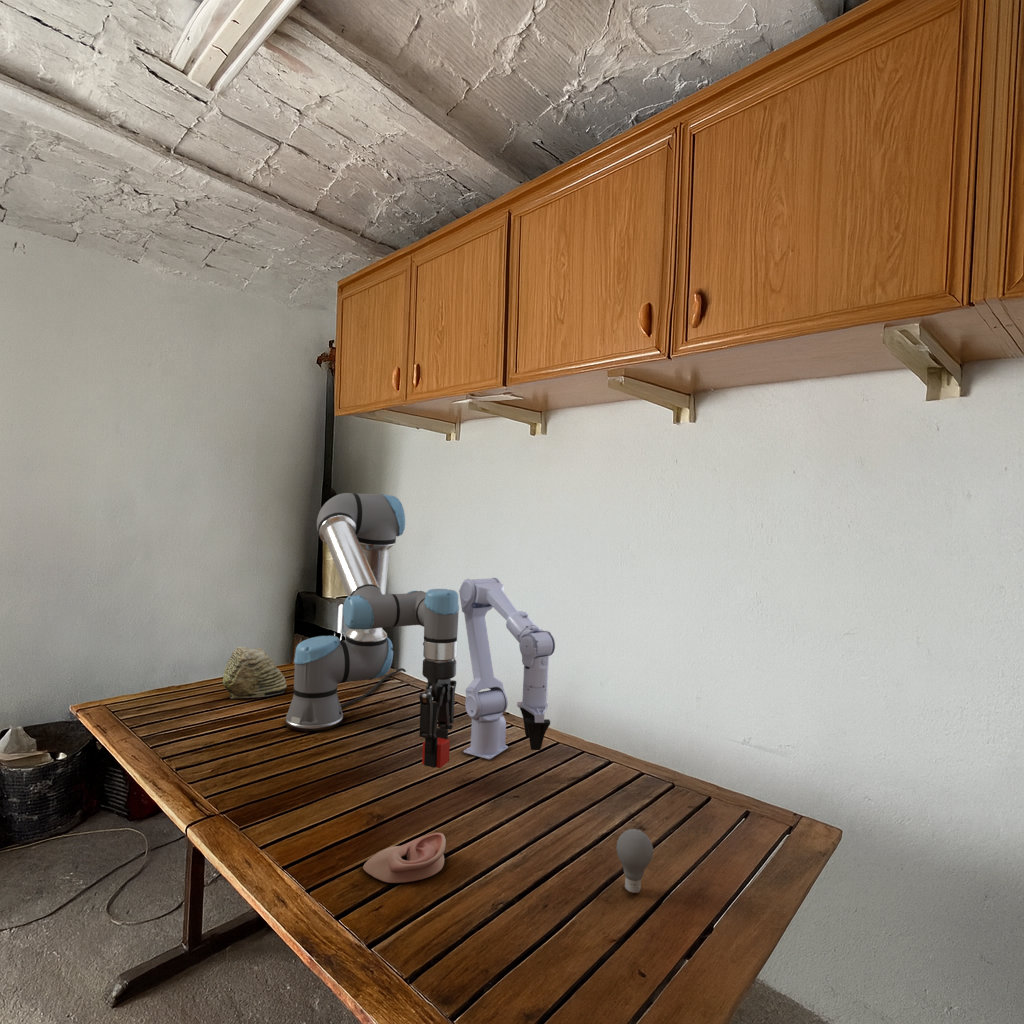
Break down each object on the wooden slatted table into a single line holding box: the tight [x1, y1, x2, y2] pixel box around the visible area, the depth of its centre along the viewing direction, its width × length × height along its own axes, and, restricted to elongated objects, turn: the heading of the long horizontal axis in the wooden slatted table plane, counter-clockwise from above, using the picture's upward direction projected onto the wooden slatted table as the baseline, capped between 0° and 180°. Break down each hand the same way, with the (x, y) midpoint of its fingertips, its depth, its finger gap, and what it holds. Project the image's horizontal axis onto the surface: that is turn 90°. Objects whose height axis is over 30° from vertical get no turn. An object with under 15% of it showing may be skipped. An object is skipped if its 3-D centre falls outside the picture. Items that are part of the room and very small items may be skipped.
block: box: [421, 738, 451, 769], centre depth 143 cm, size 4×5×5 cm
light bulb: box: [615, 828, 654, 894], centre depth 106 cm, size 6×6×10 cm
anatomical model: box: [362, 832, 447, 884], centre depth 110 cm, size 13×4×12 cm
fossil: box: [222, 646, 288, 699], centre depth 198 cm, size 9×18×15 cm, turn 132°
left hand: (435, 761), depth 143 cm, fingers closed on block, 4 cm apart
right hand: (532, 742), depth 146 cm, fingers open, 7 cm apart
